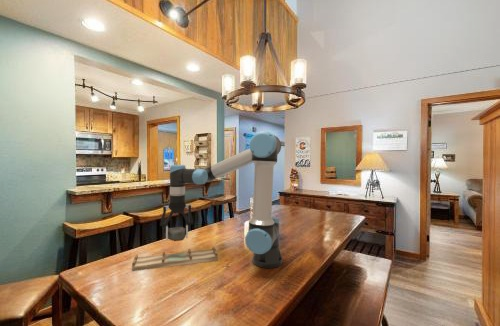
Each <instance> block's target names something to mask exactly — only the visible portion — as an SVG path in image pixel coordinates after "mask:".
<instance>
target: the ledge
mask: <svg viewBox="0 0 500 326" xmlns="http://www.w3.org/2000/svg"><path fill="white" fill-rule="evenodd" d="M218 255H219V253H218V252H217V249H216V248H215V246H212V248H211V249H204V250H194V251H193V250H191V248H189V249H188V250H187V251H186V252H184V251H183V252H175V253H169V254H168V253H167V254H166V251H162V254H158V255H157V254H156V255H148V256H139V255H138V254H135V255H134V258H133V260H132V263H131V265H132V266H131V267H132V269H131V272H135V271H144V270H152V269H153V270H154V269H161V268H167V267H176V266H184V265H191V264H192V265H193V264H201V263H207V262H208V263H210V262H216V261H218V257H219V256H218Z"/></svg>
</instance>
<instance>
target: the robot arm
mask: <svg viewBox="0 0 500 326" xmlns="http://www.w3.org/2000/svg"><path fill="white" fill-rule="evenodd" d="M248 147H249V148H247V149H245V150H243V151H240V152H239V153H237V154H234V155H232V156H230V157H228V158H225V159H224V160H221V161H218V162H217V163H214V164H212V165H209V166H207V167H206V168H186V165H185V164H171V165H170V169H169V204H168V205H163V207H162V209H163V211H162V216H161V219H160V223H159V226H160V227H162V228H163V234H165V233H166V234H165V241H168V240H169V239H168V229H169V225H168V224H169V221H171V218H172V216H173V215H174V214H181V215H182V217H183V218H184V220H185V222H186V224H185V229H186V236H185V239H188V237H189V232H190V231H191V226H192V225H193V224H194V218H193V213H192V205H191V204H186V195H185V194H186V184H188V185H189V184H190V185H204V184H205V185H206V183H212V182H213V181H216V179H218V178H221V177H223V176H225V175H228V174H230V173H232V172H235V171H237V170H240V169H241V168H244V167H246V166H248V165H251V164H253V165H254V172H253V174H254V176H253V195H252V197H253V200H252V217H251V218H250V219H249V220H248V232H247V233H246V235H245V240H244V242H245V245H246V247H247V248H248V250H249V251H250V252H252V253H253V256H252V263H253V265H255V266H256V267H259V268H263V269H274V268H279V267H280V266H283V265H282V264H283V256H282V253H281V249H280V220H279V218H278V217H276V216H275V217H274V216H272V213H273V212H272V210H273V207H272V206H273V192H274V191H273V186H274V168H275V167H274V166H275V165H276V164H277V163H278V155H279V154H280V152H281V150H282V143H281V140H280V138H279V137H278V136H277V135H275V134H273V133H272V132H270V131H265V130H264V131H263V130H262V131H259V132H256V133H255V134H253V136H251V138H250V141H249V144H248ZM185 208H186V210H188V215H189V219H190V221H189V219H188V217H187V215H186V213H185V211H184V210H185ZM168 209H169V210H170V212H169V214H168V216H167V218H166V220H165V217H166V213H167V211H168Z"/></svg>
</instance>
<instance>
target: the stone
mask: <svg viewBox="0 0 500 326" xmlns="http://www.w3.org/2000/svg"><path fill="white" fill-rule="evenodd" d="M164 234H165V235H166V233H164ZM185 239H186V227H184V226H176V227H168V240H170V241H172V242H178V241H179V242H181V241H183V240H185Z"/></svg>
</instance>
